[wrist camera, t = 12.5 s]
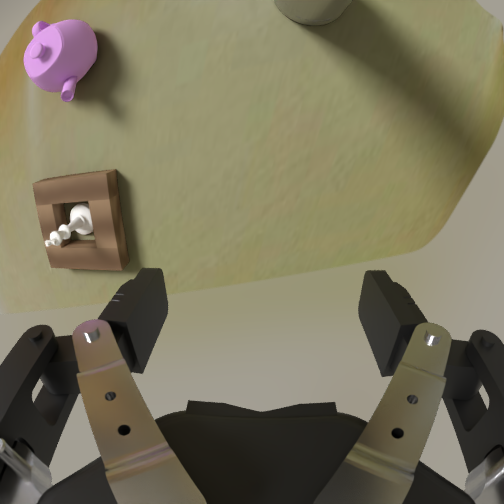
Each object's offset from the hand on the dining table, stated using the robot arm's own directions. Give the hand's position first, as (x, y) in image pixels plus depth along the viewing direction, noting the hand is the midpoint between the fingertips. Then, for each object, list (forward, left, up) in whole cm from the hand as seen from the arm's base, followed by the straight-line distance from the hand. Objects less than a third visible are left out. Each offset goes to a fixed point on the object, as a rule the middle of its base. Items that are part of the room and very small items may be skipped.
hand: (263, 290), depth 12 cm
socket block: (+6, -27, -28) cm, 39 cm away
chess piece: (+6, -27, -28) cm, 40 cm away
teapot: (-18, -26, -28) cm, 42 cm away
